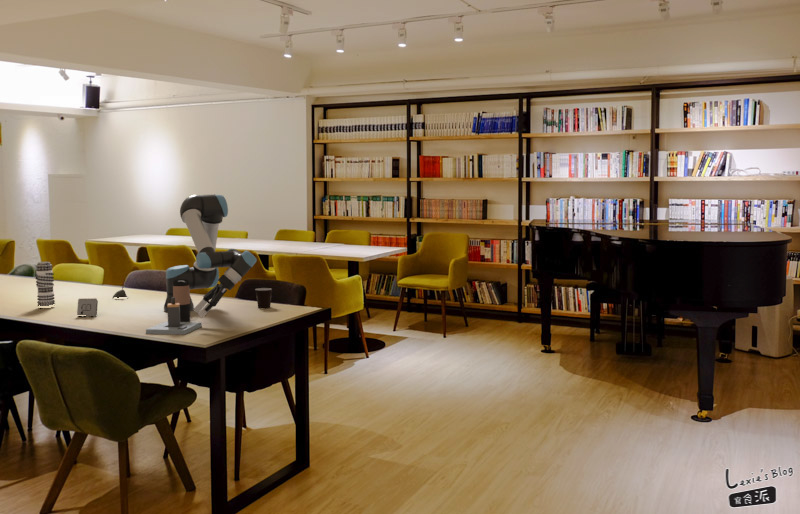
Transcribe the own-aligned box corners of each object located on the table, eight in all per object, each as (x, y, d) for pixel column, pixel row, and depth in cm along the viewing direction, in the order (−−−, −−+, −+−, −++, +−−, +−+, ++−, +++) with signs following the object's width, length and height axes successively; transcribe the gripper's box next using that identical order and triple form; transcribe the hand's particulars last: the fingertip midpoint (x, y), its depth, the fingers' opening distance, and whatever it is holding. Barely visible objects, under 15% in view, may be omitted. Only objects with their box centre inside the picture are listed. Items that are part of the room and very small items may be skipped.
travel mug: (176, 320, 346) (174, 279, 344) (192, 319, 346) (190, 279, 344) (172, 322, 338) (170, 281, 336) (188, 322, 339) (187, 281, 337)
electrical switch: (76, 317, 356) (76, 298, 356) (81, 316, 361) (81, 298, 361) (95, 317, 356) (95, 298, 356) (99, 316, 361) (99, 298, 361)
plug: (169, 329, 322) (167, 296, 321) (180, 328, 324) (179, 296, 322) (168, 331, 318) (167, 298, 316) (180, 330, 319) (178, 298, 317)
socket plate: (146, 333, 313) (145, 327, 313) (165, 325, 331) (164, 320, 331) (184, 334, 311) (184, 328, 310) (201, 326, 328) (201, 321, 328)
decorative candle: (55, 305, 392) (53, 261, 390) (55, 308, 384) (53, 262, 381) (37, 307, 388) (34, 261, 386) (36, 309, 380) (34, 263, 377)
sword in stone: (108, 298, 417) (108, 278, 416) (120, 297, 423) (120, 277, 422) (119, 300, 411) (119, 279, 410) (131, 298, 418) (130, 278, 417)
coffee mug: (268, 309, 374) (268, 290, 373) (253, 308, 376) (252, 290, 375) (276, 305, 386) (276, 287, 385) (262, 305, 387) (261, 287, 386)
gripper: (241, 287, 319) (208, 323, 315) (230, 281, 342) (199, 314, 337) (229, 276, 317) (195, 312, 312) (218, 271, 339) (187, 304, 334)
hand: (197, 313), depth 324 cm, fingers open, 13 cm apart
